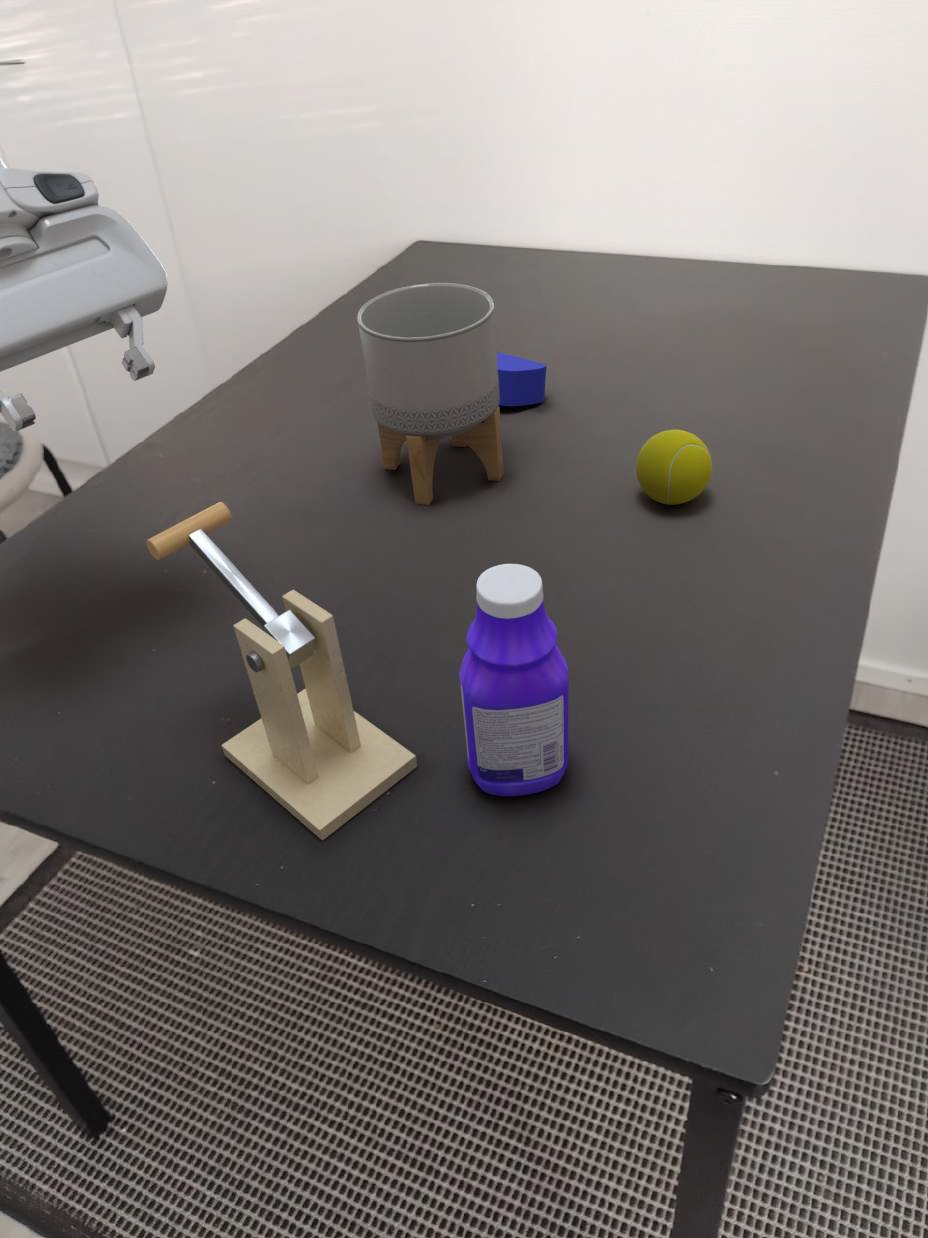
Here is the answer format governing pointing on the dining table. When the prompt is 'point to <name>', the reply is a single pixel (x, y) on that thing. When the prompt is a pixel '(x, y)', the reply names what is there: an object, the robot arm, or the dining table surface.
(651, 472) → the tennis ball
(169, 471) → the dining table surface
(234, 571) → the lever
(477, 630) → the bottle
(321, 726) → the bracket
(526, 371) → the toy
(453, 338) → the planter
